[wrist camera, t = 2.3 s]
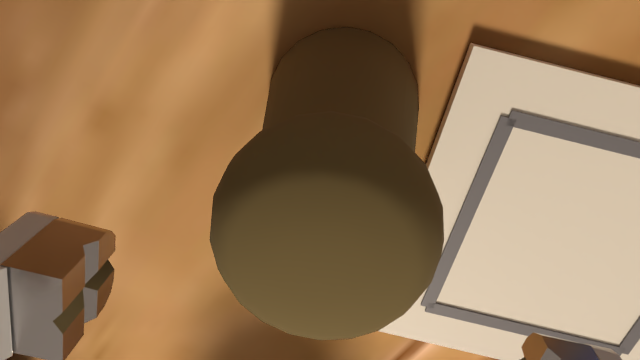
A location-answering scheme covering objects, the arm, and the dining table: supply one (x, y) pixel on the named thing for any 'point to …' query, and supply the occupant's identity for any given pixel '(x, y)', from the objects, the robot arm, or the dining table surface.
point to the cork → (331, 194)
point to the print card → (534, 211)
